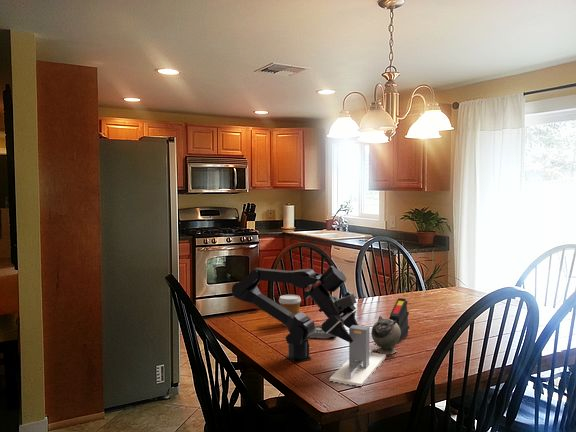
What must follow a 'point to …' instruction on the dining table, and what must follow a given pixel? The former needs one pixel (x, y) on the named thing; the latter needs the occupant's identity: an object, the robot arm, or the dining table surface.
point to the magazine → (401, 316)
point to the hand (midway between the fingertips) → (356, 338)
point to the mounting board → (361, 374)
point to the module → (359, 345)
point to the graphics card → (320, 333)
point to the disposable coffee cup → (290, 303)
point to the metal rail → (355, 367)
